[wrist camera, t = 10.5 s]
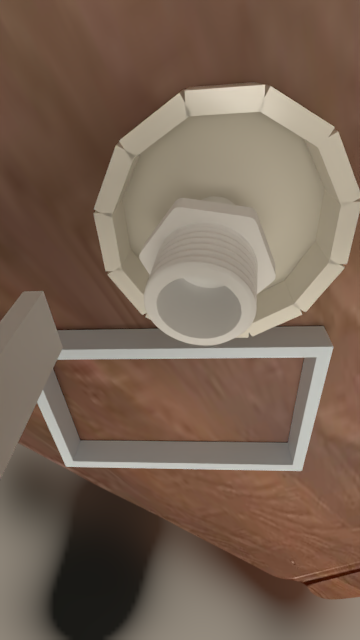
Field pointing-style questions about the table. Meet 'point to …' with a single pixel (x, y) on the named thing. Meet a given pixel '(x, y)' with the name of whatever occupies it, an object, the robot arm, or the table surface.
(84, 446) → the open rectangular frame
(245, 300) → the pipe fitting
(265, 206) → the bowl
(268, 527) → the table surface
